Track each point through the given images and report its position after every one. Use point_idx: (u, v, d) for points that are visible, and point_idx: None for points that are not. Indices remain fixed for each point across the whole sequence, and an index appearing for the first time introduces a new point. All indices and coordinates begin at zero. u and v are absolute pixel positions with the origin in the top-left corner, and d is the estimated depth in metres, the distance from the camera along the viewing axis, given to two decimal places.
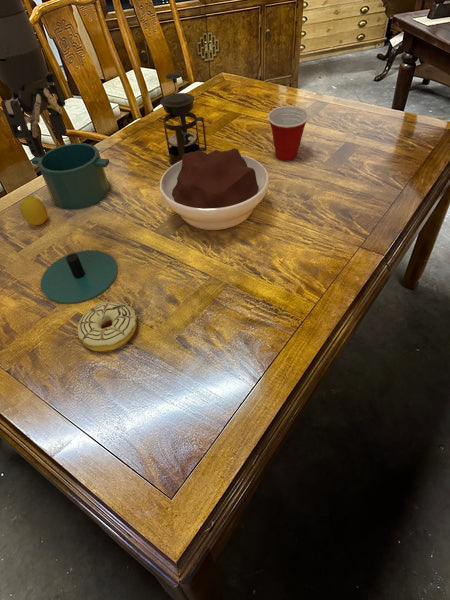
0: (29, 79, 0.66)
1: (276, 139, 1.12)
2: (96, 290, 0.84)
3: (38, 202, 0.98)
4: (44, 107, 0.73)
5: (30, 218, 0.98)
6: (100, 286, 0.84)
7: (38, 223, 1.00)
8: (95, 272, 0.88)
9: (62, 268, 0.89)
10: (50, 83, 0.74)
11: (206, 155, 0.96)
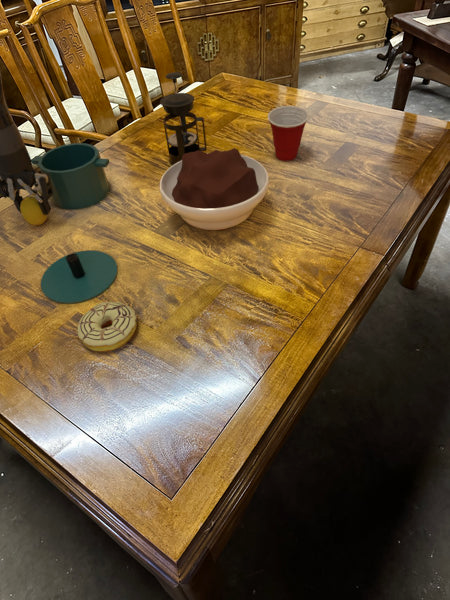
0: None
1: (276, 139, 1.12)
2: (96, 290, 0.84)
3: None
4: (23, 188, 0.94)
5: (30, 218, 0.98)
6: (100, 286, 0.84)
7: (38, 223, 1.00)
8: (95, 272, 0.88)
9: (62, 268, 0.89)
10: (39, 181, 0.92)
11: (206, 155, 0.96)
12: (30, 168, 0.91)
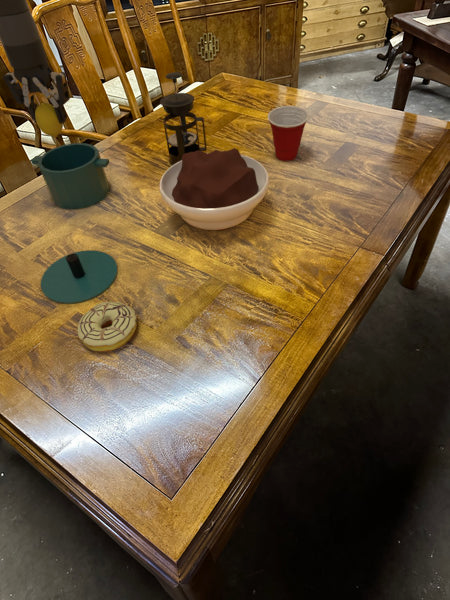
0: None
1: (276, 139, 1.12)
2: (96, 290, 0.84)
3: None
4: (38, 90, 0.90)
5: (45, 125, 0.93)
6: (100, 286, 0.84)
7: (54, 132, 0.95)
8: (95, 272, 0.88)
9: (62, 268, 0.89)
10: (55, 81, 0.88)
11: (206, 155, 0.96)
12: (46, 65, 0.87)
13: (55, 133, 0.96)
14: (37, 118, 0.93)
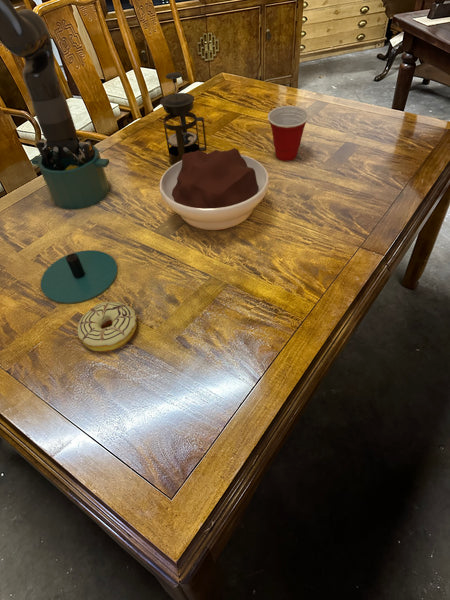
0: None
1: (276, 139, 1.12)
2: (96, 290, 0.84)
3: None
4: (67, 156, 1.02)
5: None
6: (100, 286, 0.84)
7: None
8: (95, 272, 0.88)
9: (62, 268, 0.89)
10: (83, 149, 1.00)
11: (206, 155, 0.96)
12: (75, 137, 0.99)
13: None
14: None
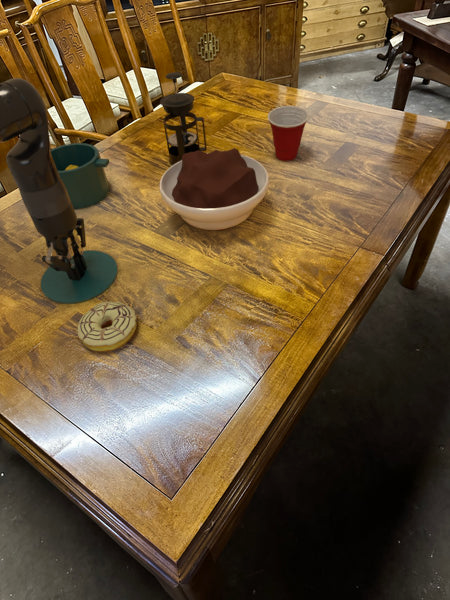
0: (62, 231, 0.75)
1: (276, 139, 1.12)
2: (96, 290, 0.84)
3: None
4: (72, 244, 0.82)
5: None
6: (100, 286, 0.84)
7: None
8: (95, 272, 0.88)
9: None
10: (78, 226, 0.84)
11: (206, 155, 0.96)
12: None
13: None
14: None
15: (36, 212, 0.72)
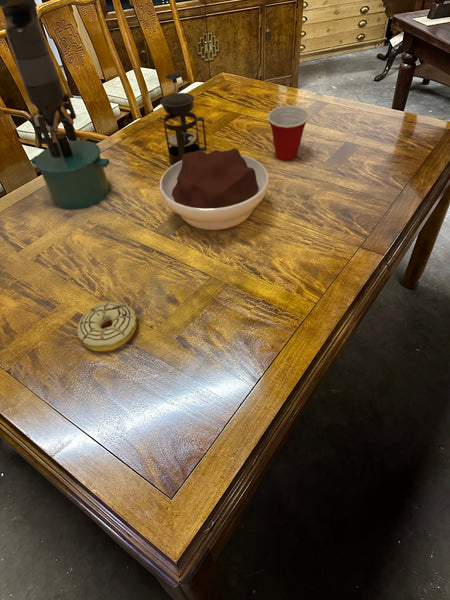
0: (51, 100, 0.91)
1: (276, 139, 1.12)
2: (81, 164, 1.00)
3: None
4: (61, 120, 0.97)
5: None
6: (85, 161, 1.00)
7: None
8: (81, 153, 1.03)
9: None
10: (65, 102, 0.99)
11: (206, 155, 0.96)
12: None
13: None
14: None
15: (29, 80, 0.87)
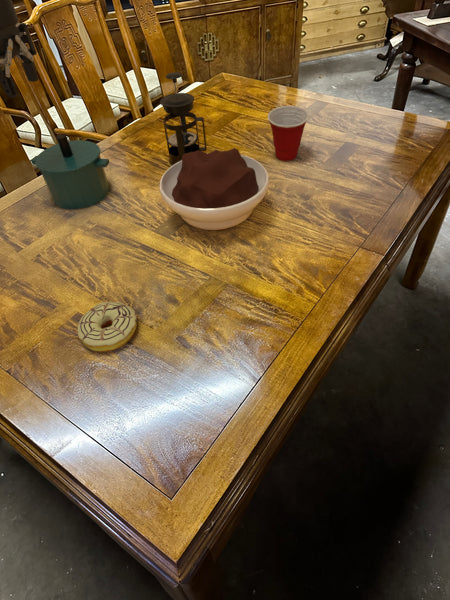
0: (1, 23, 0.77)
1: (276, 139, 1.12)
2: (81, 164, 1.00)
3: None
4: (16, 52, 0.84)
5: None
6: (85, 161, 1.00)
7: None
8: (81, 153, 1.03)
9: (53, 151, 1.05)
10: (22, 33, 0.86)
11: (206, 155, 0.96)
12: None
13: None
14: None
15: None
